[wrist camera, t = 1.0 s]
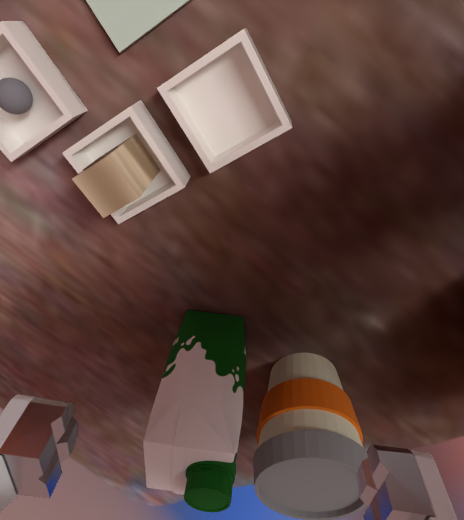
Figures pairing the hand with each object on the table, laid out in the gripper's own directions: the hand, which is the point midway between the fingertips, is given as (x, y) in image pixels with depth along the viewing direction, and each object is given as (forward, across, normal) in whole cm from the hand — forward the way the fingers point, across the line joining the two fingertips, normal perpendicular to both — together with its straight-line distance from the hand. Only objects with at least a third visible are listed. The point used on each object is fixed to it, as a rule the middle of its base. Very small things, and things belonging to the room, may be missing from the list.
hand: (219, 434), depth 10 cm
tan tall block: (+29, +12, +3) cm, 32 cm away
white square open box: (+30, +22, -2) cm, 37 cm away
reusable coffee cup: (+30, -11, +30) cm, 44 cm away
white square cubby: (+30, +12, +3) cm, 32 cm away
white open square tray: (+30, +3, -4) cm, 30 cm away
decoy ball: (+28, +22, -2) cm, 35 cm away
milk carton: (+30, +2, +24) cm, 39 cm away
